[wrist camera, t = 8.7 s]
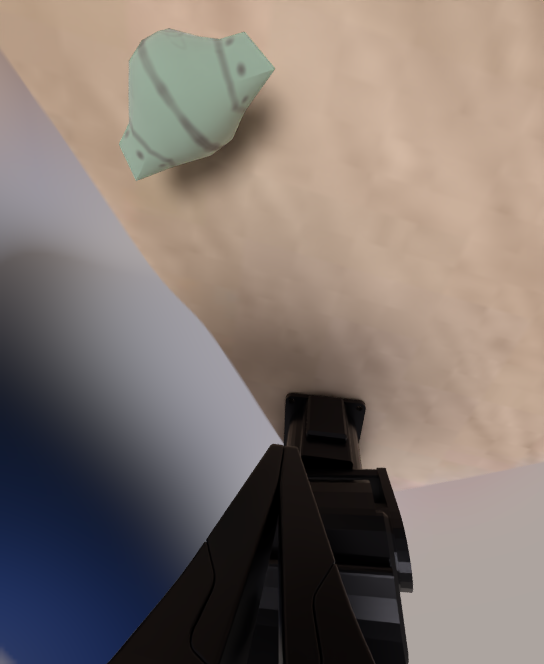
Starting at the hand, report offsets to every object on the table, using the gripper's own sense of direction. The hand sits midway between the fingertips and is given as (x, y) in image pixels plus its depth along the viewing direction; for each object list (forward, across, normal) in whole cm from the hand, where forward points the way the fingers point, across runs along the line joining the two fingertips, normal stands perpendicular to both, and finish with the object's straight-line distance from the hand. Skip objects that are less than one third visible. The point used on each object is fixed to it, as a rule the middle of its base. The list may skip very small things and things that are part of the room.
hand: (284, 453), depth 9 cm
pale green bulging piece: (+14, +6, -11) cm, 18 cm away
